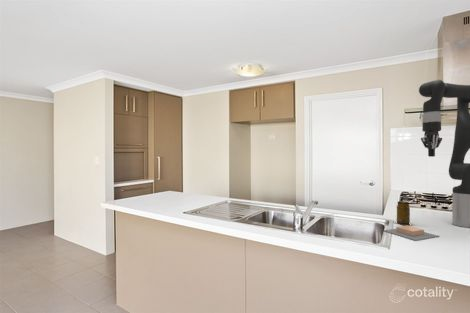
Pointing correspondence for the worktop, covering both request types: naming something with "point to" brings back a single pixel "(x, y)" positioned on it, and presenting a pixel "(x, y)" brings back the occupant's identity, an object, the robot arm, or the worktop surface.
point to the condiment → (403, 213)
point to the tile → (410, 230)
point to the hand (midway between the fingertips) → (431, 156)
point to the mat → (415, 238)
